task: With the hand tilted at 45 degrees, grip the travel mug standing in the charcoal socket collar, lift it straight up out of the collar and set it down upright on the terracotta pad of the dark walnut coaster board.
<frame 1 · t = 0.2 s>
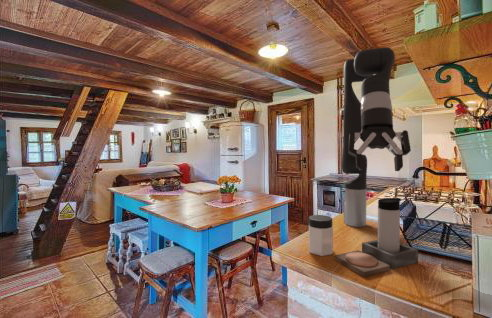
hand: (378, 170, 63), 31 cm above the counter, tool tilted 20°, fingers open, 8 cm apart
travel mug: (388, 258, 82), resting in mug dock
mug dock: (375, 261, 80), on the counter
jar: (320, 251, 89), on the counter
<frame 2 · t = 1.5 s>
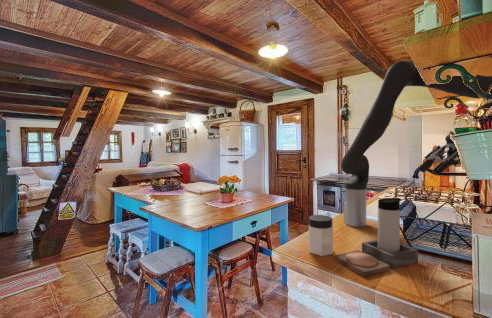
hand: (427, 171, 79), 29 cm above the counter, tool tilted 45°, fingers open, 8 cm apart
nothing on the counter moved.
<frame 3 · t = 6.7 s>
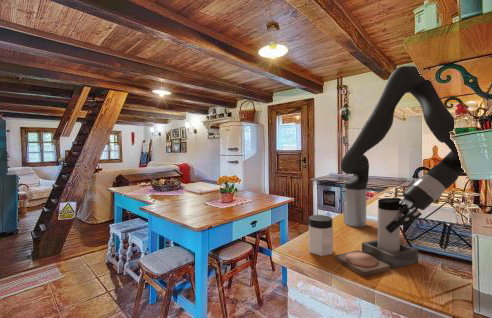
hand: (383, 227, 82), 10 cm above the counter, tool tilted 45°, fingers closed on travel mug, 6 cm apart
travel mug: (388, 258, 82), resting in mug dock, touching gripper
everything else where it was.
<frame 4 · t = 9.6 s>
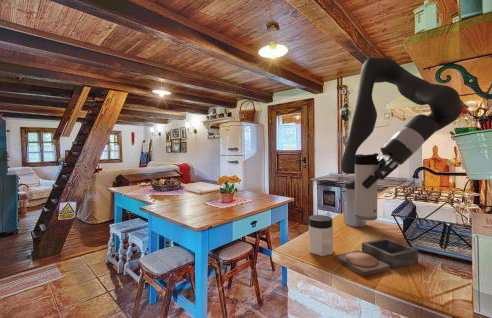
hand: (360, 184, 77), 25 cm above the counter, tool tilted 45°, fingers closed on travel mug, 6 cm apart
travel mug: (366, 218, 77), point 15 cm above the counter, touching gripper
everything else where it was.
when the fingers open (14 cm above the counter, at t = 12.9 s): travel mug drops 1 cm, resting on mug dock.
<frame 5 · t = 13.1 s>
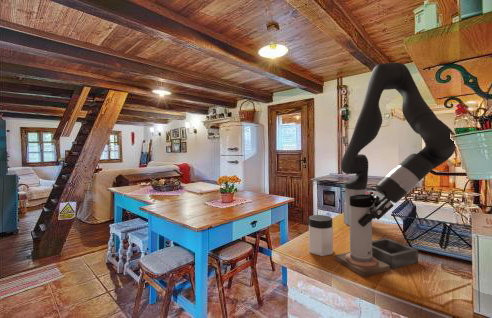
hand: (356, 220, 77), 14 cm above the counter, tool tilted 45°, fingers open, 8 cm apart
travel mug: (361, 258, 78), point 2 cm above the counter, touching mug dock
everything else where it was.
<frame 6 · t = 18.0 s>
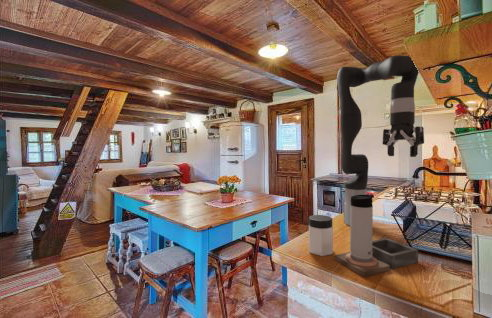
hand: (401, 156, 91), 33 cm above the counter, tool pointing down, fingers open, 8 cm apart
nothing on the counter moved.
at the end: travel mug inside the target area (0.3 cm from its centre), point 1.9 cm above the counter; travel mug tilted 0°; the gripper is holding nothing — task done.
